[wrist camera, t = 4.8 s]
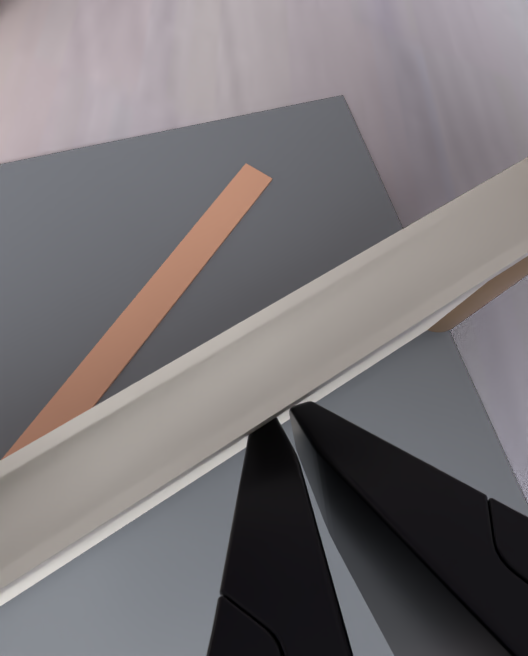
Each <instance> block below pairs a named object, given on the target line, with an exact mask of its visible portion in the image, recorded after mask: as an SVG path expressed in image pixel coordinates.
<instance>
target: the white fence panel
mask: <svg viewBox="0 0 528 656" xmlns="http://www.w3.org/2000/svg"><path fill="white" fill-rule="evenodd" d="M527 275H528V157H527V158H525V159H523V160H521V161H520V162H518V163H516V164H514V165H513V166H511V167H509V168H508V169H506V170H504V171H502V172H501V173H499V174H497V175H495V176H494V177H492V178H490V179H488V180H487V181H485V182H483V183H481V184H480V185H478V186H476V187H475V188H473V189H471V190H469V191H468V192H466V193H464V194H462V195H461V196H459V197H457V198H455V199H454V200H452V201H450V202H448V203H447V204H445V205H443V206H442V207H440V208H438V209H436V210H435V211H433V212H431V213H429V214H428V215H426V216H424V217H422V218H421V219H419V220H417V221H415V222H414V223H412V224H410V225H409V226H407V227H405V228H403V229H402V230H400V231H398V232H396V233H395V234H393V235H391V236H389V237H388V238H386V239H384V240H382V241H381V242H379V243H377V244H376V245H374V246H372V247H370V248H369V249H367V250H365V251H363V252H362V253H360V254H358V255H356V256H355V257H353V258H351V259H350V260H348V261H346V262H344V263H343V264H341V265H339V266H337V267H336V268H334V269H332V270H330V271H329V272H327V273H325V274H323V275H322V276H320V277H318V278H317V279H315V280H313V281H311V282H310V283H308V284H306V285H304V286H303V287H301V288H299V289H297V290H296V291H294V292H292V293H290V294H289V295H287V296H285V297H284V298H282V299H280V300H278V301H277V302H275V303H273V304H271V305H270V306H268V307H266V308H264V309H263V310H261V311H259V312H257V313H256V314H254V315H252V316H251V317H249V318H247V319H245V320H244V321H242V322H240V323H238V324H237V325H235V326H233V327H231V328H230V329H228V330H226V331H224V332H223V333H221V334H219V335H218V336H216V337H214V338H212V339H211V340H209V341H207V342H205V343H204V344H202V345H200V346H198V347H197V348H195V349H193V350H191V351H190V352H188V353H186V354H185V355H183V356H181V357H179V358H178V359H176V360H174V361H172V362H171V363H169V364H167V365H165V366H164V367H162V368H160V369H158V370H157V371H155V372H153V373H152V374H150V375H148V376H146V377H145V378H143V379H141V380H139V381H138V382H136V383H134V384H132V385H131V386H129V387H127V388H125V389H124V390H122V391H120V392H119V393H117V394H115V395H113V396H112V397H110V398H108V399H106V400H105V401H103V402H101V403H99V404H98V405H96V406H94V407H93V408H91V409H89V410H87V411H86V412H84V413H82V414H80V415H79V416H77V417H75V418H73V419H72V420H70V421H68V422H66V423H65V424H63V425H61V426H60V427H58V428H56V429H54V430H53V431H51V432H49V433H47V434H46V435H44V436H42V437H40V438H39V439H37V440H35V441H33V442H32V443H30V444H28V445H27V446H25V447H23V448H21V449H20V450H18V451H16V452H14V453H13V454H11V455H9V456H7V457H6V458H4V459H2V460H0V606H2V605H3V604H5V603H6V602H8V601H9V600H11V599H12V598H14V597H16V596H17V595H19V594H20V593H22V592H23V591H25V590H26V589H28V588H29V587H31V586H33V585H34V584H36V583H37V582H39V581H40V580H42V579H43V578H45V577H46V576H48V575H50V574H51V573H53V572H54V571H56V570H57V569H59V568H60V567H62V566H63V565H65V564H67V563H68V562H70V561H71V560H73V559H74V558H76V557H77V556H79V555H80V554H82V553H84V552H85V551H87V550H88V549H90V548H91V547H93V546H94V545H96V544H97V543H99V542H101V541H102V540H104V539H105V538H107V537H108V536H110V535H111V534H113V533H114V532H116V531H118V530H119V529H121V528H122V527H124V526H125V525H127V524H128V523H130V522H131V521H133V520H135V519H136V518H138V517H139V516H141V515H142V514H144V513H145V512H147V511H148V510H150V509H152V508H153V507H155V506H156V505H158V504H159V503H161V502H162V501H164V500H165V499H167V498H169V497H170V496H172V495H173V494H175V493H176V492H178V491H179V490H181V489H182V488H184V487H186V486H187V485H189V484H190V483H192V482H193V481H195V480H196V479H198V478H199V477H201V476H202V475H204V474H206V473H207V472H209V471H210V470H212V469H213V468H215V467H216V466H218V465H219V464H221V463H223V462H224V461H226V460H227V459H229V458H230V457H232V456H233V455H235V454H236V453H238V452H240V451H241V450H243V449H244V448H246V445H247V440H248V435H249V434H251V433H252V432H254V431H256V430H257V429H259V428H260V427H262V426H263V425H265V424H266V423H268V422H270V421H271V420H273V419H274V418H276V417H277V418H278V420H279V422H280V424H283V423H284V422H286V421H287V420H289V419H290V415H289V410H290V408H291V407H293V406H295V405H298V404H301V403H304V402H307V401H312V402H317V401H318V400H320V399H321V398H323V397H325V396H326V395H328V394H329V393H331V392H332V391H334V390H335V389H337V388H338V387H340V386H342V385H343V384H345V383H346V382H348V381H349V380H351V379H352V378H354V377H355V376H357V375H359V374H360V373H362V372H363V371H365V370H366V369H368V368H369V367H371V366H372V365H374V364H376V363H377V362H379V361H380V360H382V359H383V358H385V357H386V356H388V355H389V354H391V353H393V352H394V351H396V350H397V349H399V348H400V347H402V346H403V345H405V344H406V343H408V342H410V341H411V340H413V339H414V338H416V337H417V336H419V335H420V334H422V333H423V332H425V331H426V330H428V331H431V332H446V331H448V330H451V329H452V328H454V327H455V326H456V325H458V324H459V323H461V322H462V321H463V320H465V319H466V318H468V317H469V316H471V315H472V314H473V313H475V312H476V311H478V310H479V309H480V308H482V307H483V306H485V305H486V304H487V303H489V302H490V301H492V300H493V299H494V298H496V297H497V296H499V295H500V294H501V293H503V292H504V291H506V290H507V289H508V288H510V287H511V286H513V285H514V284H515V283H517V282H518V281H520V280H521V279H522V278H524V277H525V276H527Z"/></svg>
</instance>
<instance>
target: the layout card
mask: <svg viewBox="0 0 528 656" xmlns="http://www.w3.org/2000/svg"><path fill="white" fill-rule="evenodd" d="M402 229H403V227H402V225H401V223H400V221H399V218H398V216H397V214H396V212H395V210H394V207H393V205H392V203H391V201H390V198H389V196H388V194H387V192H386V190H385V187H384V185H383V183H382V181H381V179H380V176H379V174H378V172H377V170H376V168H375V165H374V163H373V161H372V159H371V156H370V154H369V152H368V150H367V148H366V145H365V143H364V141H363V139H362V137H361V134H360V132H359V130H358V128H357V125H356V123H355V121H354V119H353V117H352V114H351V112H350V110H349V108H348V106H347V103H346V101H345V99H344V97H343V95H341V96H336V97H331V98H326V99H321V100H316V101H311V102H306V103H301V104H296V105H291V106H286V107H281V108H276V109H272V110H267V111H262V112H257V113H252V114H247V115H242V116H237V117H232V118H227V119H222V120H217V121H212V122H207V123H202V124H197V125H192V126H187V127H182V128H177V129H172V130H167V131H163V132H158V133H153V134H148V135H143V136H138V137H133V138H128V139H123V140H118V141H113V142H108V143H103V144H98V145H93V146H88V147H83V148H78V149H73V150H68V151H63V152H59V153H54V154H49V155H44V156H39V157H34V158H29V159H24V160H19V161H14V162H9V163H4V164H0V460H2V459H4V458H6V457H7V456H9V455H11V454H13V453H14V452H16V451H18V450H20V449H21V448H23V447H25V446H27V445H28V444H30V443H32V442H33V441H35V440H37V439H39V438H40V437H42V436H44V435H46V434H47V433H49V432H51V431H53V430H54V429H56V428H58V427H60V426H61V425H63V424H65V423H66V422H68V421H70V420H72V419H73V418H75V417H77V416H79V415H80V414H82V413H84V412H86V411H87V410H89V409H91V408H93V407H94V406H96V405H98V404H99V403H101V402H103V401H105V400H106V399H108V398H110V397H112V396H113V395H115V394H117V393H119V392H120V391H122V390H124V389H125V388H127V387H129V386H131V385H132V384H134V383H136V382H138V381H139V380H141V379H143V378H145V377H146V376H148V375H150V374H152V373H153V372H155V371H157V370H158V369H160V368H162V367H164V366H165V365H167V364H169V363H171V362H172V361H174V360H176V359H178V358H179V357H181V356H183V355H185V354H186V353H188V352H190V351H191V350H193V349H195V348H197V347H198V346H200V345H202V344H204V343H205V342H207V341H209V340H211V339H212V338H214V337H216V336H218V335H219V334H221V333H223V332H224V331H226V330H228V329H230V328H231V327H233V326H235V325H237V324H238V323H240V322H242V321H244V320H245V319H247V318H249V317H251V316H252V315H254V314H256V313H257V312H259V311H261V310H263V309H264V308H266V307H268V306H270V305H271V304H273V303H275V302H277V301H278V300H280V299H282V298H284V297H285V296H287V295H289V294H290V293H292V292H294V291H296V290H297V289H299V288H301V287H303V286H304V285H306V284H308V283H310V282H311V281H313V280H315V279H317V278H318V277H320V276H322V275H323V274H325V273H327V272H329V271H330V270H332V269H334V268H336V267H337V266H339V265H341V264H343V263H344V262H346V261H348V260H350V259H351V258H353V257H355V256H356V255H358V254H360V253H362V252H363V251H365V250H367V249H369V248H370V247H372V246H374V245H376V244H377V243H379V242H381V241H382V240H384V239H386V238H388V237H389V236H391V235H393V234H395V233H396V232H398V231H400V230H402ZM315 403H317V404H318V405H320V406H322V407H324V408H326V409H328V410H330V411H332V412H333V413H335V414H337V415H339V416H341V417H343V418H345V419H346V420H348V421H350V422H352V423H354V424H356V425H358V426H359V427H361V428H363V429H365V430H367V431H369V432H371V433H372V434H374V435H376V436H378V437H380V438H382V439H384V440H385V441H387V442H389V443H391V444H393V445H395V446H397V447H399V448H400V449H402V450H404V451H406V452H408V453H410V454H412V455H413V456H415V457H417V458H419V459H421V460H423V461H425V462H426V463H428V464H430V465H432V466H434V467H436V468H438V469H439V470H441V471H443V472H445V473H447V474H449V475H451V476H452V477H454V478H456V479H458V480H460V481H462V482H464V483H466V484H467V485H469V486H471V487H473V488H475V489H477V490H479V491H480V492H482V493H484V494H486V495H487V497H488V500H489V499H490V498H494V499H496V500H498V501H499V502H501V503H503V504H505V505H507V506H509V507H511V508H513V509H514V510H516V511H518V512H520V513H522V514H524V515H526V516H528V504H527V502H526V500H525V497H524V495H523V493H522V491H521V488H520V486H519V484H518V482H517V480H516V477H515V475H514V473H513V471H512V469H511V466H510V464H509V462H508V460H507V457H506V455H505V453H504V451H503V449H502V446H501V444H500V442H499V440H498V438H497V435H496V433H495V431H494V429H493V426H492V424H491V422H490V420H489V418H488V415H487V413H486V411H485V409H484V407H483V404H482V402H481V400H480V398H479V396H478V393H477V391H476V389H475V387H474V384H473V382H472V380H471V378H470V376H469V373H468V371H467V369H466V367H465V365H464V362H463V360H462V358H461V356H460V353H459V351H458V349H457V347H456V345H455V342H454V340H453V338H452V336H451V334H450V331H449V330H448V331H446V332H431V331H428V330H426V331H425V332H423V333H422V334H420V335H419V336H417V337H416V338H414V339H413V340H411V341H410V342H408V343H406V344H405V345H403V346H402V347H400V348H399V349H397V350H396V351H394V352H393V353H391V354H389V355H388V356H386V357H385V358H383V359H382V360H380V361H379V362H377V363H376V364H374V365H372V366H371V367H369V368H368V369H366V370H365V371H363V372H362V373H360V374H359V375H357V376H355V377H354V378H352V379H351V380H349V381H348V382H346V383H345V384H343V385H342V386H340V387H338V388H337V389H335V390H334V391H332V392H331V393H329V394H328V395H326V396H325V397H323V398H321V399H320V400H318V401H317V402H315ZM281 426H282V428H283V430H284V431H285V433H286V435H287V437H288V439H289V441H290V442H291V444H292V446H293V448H294V450H295V452H296V454H297V456H298V453H297V450H296V446H295V441H294V436H293V431H292V426H291V420H290V419H289V420H287V421H286V422H284V423H283V424H281ZM245 450H246V448H244V449H243V450H241V451H240V452H238V453H236V454H235V455H233V456H232V457H230V458H229V459H227V460H226V461H224V462H223V463H221V464H219V465H218V466H216V467H215V468H213V469H212V470H210V471H209V472H207V473H206V474H204V475H202V476H201V477H199V478H198V479H196V480H195V481H193V482H192V483H190V484H189V485H187V486H186V487H184V488H182V489H181V490H179V491H178V492H176V493H175V494H173V495H172V496H170V497H169V498H167V499H165V500H164V501H162V502H161V503H159V504H158V505H156V506H155V507H153V508H152V509H150V510H148V511H147V512H145V513H144V514H142V515H141V516H139V517H138V518H136V519H135V520H133V521H131V522H130V523H128V524H127V525H125V526H124V527H122V528H121V529H119V530H118V531H116V532H114V533H113V534H111V535H110V536H108V537H107V538H105V539H104V540H102V541H101V542H99V543H97V544H96V545H94V546H93V547H91V548H90V549H88V550H87V551H85V552H84V553H82V554H80V555H79V556H77V557H76V558H74V559H73V560H71V561H70V562H68V563H67V564H65V565H63V566H62V567H60V568H59V569H57V570H56V571H54V572H53V573H51V574H50V575H48V576H46V577H45V578H43V579H42V580H40V581H39V582H37V583H36V584H34V585H33V586H31V587H29V588H28V589H26V590H25V591H23V592H22V593H20V594H19V595H17V596H16V597H14V598H12V599H11V600H9V601H8V602H6V603H5V604H3V605H2V606H0V656H206V654H207V649H208V645H209V640H210V636H211V631H212V626H213V621H214V616H215V610H216V605H217V600H218V598H219V597H220V593H219V590H220V585H221V580H222V574H223V569H224V564H225V558H226V553H227V547H228V542H229V537H230V531H231V526H232V520H233V515H234V510H235V504H236V499H237V494H238V488H239V483H240V477H241V472H242V467H243V461H244V456H245ZM298 459H299V462H300V465H301V468H302V472H303V475H304V479H305V483H306V486H307V490H308V493H309V497H310V501H311V504H312V508H313V511H314V515H315V519H316V522H317V526H318V529H319V533H320V537H321V540H322V544H323V547H324V551H325V555H326V558H327V562H328V565H329V569H330V573H331V576H332V580H333V583H334V587H335V591H336V594H337V598H338V601H339V605H340V609H341V612H342V616H343V619H344V623H345V627H346V630H347V634H348V637H349V641H350V645H351V648H352V652H353V655H354V656H394V654H393V653H392V651H391V649H390V647H389V645H388V643H387V641H386V639H385V638H384V636H383V634H382V632H381V630H380V628H379V626H378V624H377V623H376V621H375V619H374V617H373V615H372V613H371V611H370V610H369V608H368V606H367V604H366V602H365V600H364V598H363V596H362V595H361V593H360V591H359V589H358V587H357V585H356V583H355V581H354V580H353V578H352V576H351V574H350V572H349V570H348V568H347V567H346V565H345V563H344V561H343V559H342V557H341V555H340V553H339V552H338V550H337V548H336V546H335V544H334V542H333V540H332V538H331V536H330V534H329V531H328V529H327V527H326V524H325V522H324V520H323V517H322V515H321V512H320V509H319V507H318V504H317V502H316V499H315V497H314V494H313V492H312V489H311V486H310V484H309V481H308V479H307V476H306V474H305V471H304V469H303V466H302V463H301V461H300V458H299V456H298Z"/></svg>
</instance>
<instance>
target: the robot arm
mask: <svg viewBox="0 0 528 656" xmlns="http://www.w3.org/2000/svg"><path fill="white" fill-rule="evenodd" d="M289 415H290V420H291V426H292V431H293V436H294V441H295V446H296V450H297V453H298V456H299V458H300V461H301V463H302V466H303V469H304V471H305V474H306V476H307V479H308V481H309V484H310V486H311V489H312V492H313V494H314V497H315V499H316V502H317V504H318V507H319V509H320V512H321V515H322V517H323V520H324V522H325V524H326V527H327V529H328V531H329V534H330V536H331V538H332V540H333V542H334V544H335V546H336V548H337V550H338V552H339V553H340V555H341V557H342V559H343V561H344V563H345V565H346V567H347V568H348V570H349V572H350V574H351V576H352V578H353V580H354V581H355V583H356V585H357V587H358V589H359V591H360V593H361V595H362V596H363V598H364V600H365V602H366V604H367V606H368V608H369V610H370V611H371V613H372V615H373V617H374V619H375V621H376V623H377V624H378V626H379V628H380V630H381V632H382V634H383V636H384V638H385V639H386V641H387V643H388V645H389V647H390V649H391V651H392V653H393V654H394V656H528V516H526V515H524V514H522V513H520V512H518V511H516V510H514V509H513V508H511V507H509V506H507V505H505V504H503V503H501V502H499V501H498V500H496V499H494V498H490V499H489V500H488V497H487V495H486V494H484V493H482V492H480V491H479V490H477V489H475V488H473V487H471V486H469V485H467V484H466V483H464V482H462V481H460V480H458V479H456V478H454V477H452V476H451V475H449V474H447V473H445V472H443V471H441V470H439V469H438V468H436V467H434V466H432V465H430V464H428V463H426V462H425V461H423V460H421V459H419V458H417V457H415V456H413V455H412V454H410V453H408V452H406V451H404V450H402V449H400V448H399V447H397V446H395V445H393V444H391V443H389V442H387V441H385V440H384V439H382V438H380V437H378V436H376V435H374V434H372V433H371V432H369V431H367V430H365V429H363V428H361V427H359V426H358V425H356V424H354V423H352V422H350V421H348V420H346V419H345V418H343V417H341V416H339V415H337V414H335V413H333V412H332V411H330V410H328V409H326V408H324V407H322V406H320V405H318V404H317V403H315V402H312V401H307V402H304V403H301V404H298V405H295V406H293V407H291V408H290V410H289ZM298 456H297V454H296V452H295V450H294V448H293V446H292V444H291V442H290V441H289V439H288V437H287V435H286V433H285V431H284V430H283V428H282V426H281V424H280V422H279V420H278V418H277V417H276V418H274V419H273V420H271V421H270V422H268V423H266V424H265V425H263V426H262V427H260V428H259V429H257V430H256V431H254V432H252V433H251V434H249V435H248V440H247V445H246V450H245V456H244V461H243V467H242V472H241V477H240V483H239V488H238V494H237V499H236V504H235V510H234V515H233V520H232V526H231V531H230V537H229V542H228V547H227V553H226V558H225V564H224V569H223V574H222V580H221V585H220V590H219V593H220V597H219V598H218V600H217V605H216V610H215V616H214V621H213V626H212V631H211V636H210V640H209V645H208V649H207V654H206V656H354V655H353V652H352V648H351V645H350V641H349V637H348V634H347V630H346V627H345V623H344V619H343V616H342V612H341V609H340V605H339V601H338V598H337V594H336V591H335V587H334V583H333V580H332V576H331V573H330V569H329V565H328V562H327V558H326V555H325V551H324V547H323V544H322V540H321V537H320V533H319V529H318V526H317V522H316V519H315V515H314V511H313V508H312V504H311V501H310V497H309V493H308V490H307V486H306V483H305V479H304V475H303V472H302V468H301V465H300V462H299V459H298Z"/></svg>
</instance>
